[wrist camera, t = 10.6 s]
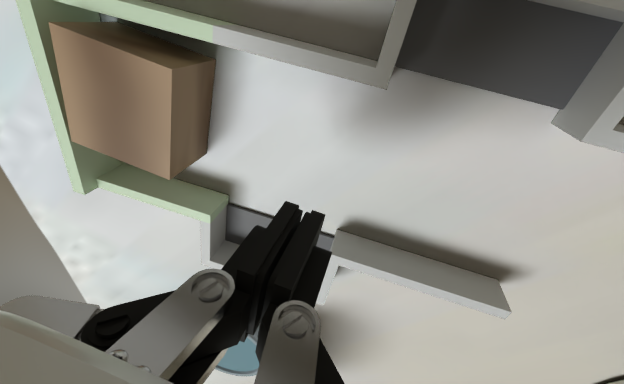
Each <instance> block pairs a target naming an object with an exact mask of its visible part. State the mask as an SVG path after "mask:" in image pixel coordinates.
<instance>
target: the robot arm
mask: <svg viewBox="0 0 624 384" xmlns="http://www.w3.org/2000/svg"><path fill="white" fill-rule="evenodd" d="M302 212H303V211H302V210H300V209H299V205H296V204H293V203H290V202H287V201H286V202H285V203H284V204H283V206H282V207H281V208H280V210H279V211H278V213H277V214H276V215H275V217H274V218H273V220H272V221H271V222H270V224H269V225H268V227H267V228H264V227H262V226H259V225H256V226H255V227H254V228H253V229H252V230H251V232H250V233H249V234H248V236H247V237H246V238H245V239H244V241H243V242H242V243H241V244H240V246H239V247H238V248H237V250H236V251H235V252H234V253H233V255H232V256H231V257H230V259H229V260H228V261H227V262H226V264H225V265H224V266H223V268H222V269H221V270H220V269H205V270H202V271H200V272H198V273H196V274H195V275H193V276H192V277H191V278H189V279H188V280H187V281H186V282H185V283H184V284H182V285H181V286H180V287H179V288H178V289H177V290H175V291H171V292H167V293H163V294H159V295H155V296H151V297H148V298H144V299H140V300H136V301H132V302H128V303H124V304H120V305H116V306H113V307H110V308H107V309H100V307H99V305H94V304H87V303H81V302H74V301H68V300H61V299H56V298H49V297H43V296H24V297H19V298H16V299H14V300H11V301H9V302H7V303H5V304H3V305H2V306H1V307H0V384H203V383H204V382H205V381H206V379H207V378H208V377H209V375H210V374H211V373H212V371H213V370H214V369H215V367H216V366H217V365H218V363H219V362H220V361H221V359H222V358H223V357H224V355H225V353H226V352H227V350H228V348H230V347H232V346H235V345H238V343H239V341H241V342H245V340H246V338H247V336H248V334H250V335H254V334H255V332H256V330H257V328H258V326H259V324H260V326H259V331H258V336H257V337H258V340H257V345H256V350H255V353H256V356H257V358H258V361H259V368H258V372H257V375H256V379H255V382H254V384H344V382H343V380H342V378H341V376H340V374H339V373H338V371H337V369H336V367H335V365H334V363H333V362H332V360H331V358H330V356H329V354H328V352H327V351H326V349H325V347H324V345H323V343H322V341H321V340H320V329H321V324H320V318H319V316H318V313H317V312H316V311H315V309H314V307H315V304H316V301H317V298H318V295H319V292H320V288H321V285H322V282H323V279H324V276H325V273H326V270H327V267H328V264H329V261H330V258H331V255H332V252H331V251H328V250H325V249H323V248H320V247H317V246H316V245H317V241H318V238H319V235H320V231H321V228H322V225H323V221H324V218H325V214H322V213H319V212H316V211H313V210H312V212H311V213H308V212H306V213H305V215H304V217H303V218H302V220H301V216H302ZM300 221H301V222H300ZM607 384H624V379H623V380H619V381H615V382H611V383H607Z"/></svg>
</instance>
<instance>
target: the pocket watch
mask: <svg viewBox="0 0 624 384" xmlns="http://www.w3.org/2000/svg"><path fill="white" fill-rule="evenodd" d="M258 331H259V326H258V328H257V330H256V332H255V334H254V335H250V334H248V336H247V338H246V340H245V342H241V341H239V343H238V345H235V346H232V347H230V348H228V350H227V352H226V353H225V355H224V357H223V358H222V359H221V361H220V362H219V363H218V365H217V366H216V367H215V369H216V370H219V371H221V372H224V373H228V374H231V375H236V376H253V375H257V372H258V368H259V361H258V358H257V356H256V353H255V350H256V345H257V340H258V337H257V336H258Z"/></svg>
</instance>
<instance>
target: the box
mask: <svg viewBox="0 0 624 384" xmlns="http://www.w3.org/2000/svg"><path fill="white" fill-rule="evenodd" d="M16 3H17V6H18V10H19V13H20V16H21V20H22V23H23V26H24V29H25V33H26V36H27V39H28V43H29V46H30V49H31V52H32V56H33V59H34V62H35V66H36V69H37V72H38V75H39V79H40V82H41V85H42V89H43V92H44V95H45V98H46V102H47V105H48V108H49V112H50V115H51V118H52V121H53V125H54V128H55V131H56V135H57V138H58V141H59V144H60V148H61V151H62V154H63V158H64V161H65V164H66V167H67V171H68V174H69V177H70V181H71V184H72V187H73V190H74V191H75V192H78V193H81V194H84V195H85V194H87V193H89V192H91V191H92V190H94V189H96V188H102V189H105V190H108V191H111V192H114V193H117V194H120V195H123V196H126V197H129V198H132V199H135V200H139V201H142V202H145V203H148V204H151V205H154V206H157V207H160V208H163V209H166V210H169V211H172V212H176V213H179V214H182V215H185V216H188V217H191V218H194V219H197V220H200V233H201V265H204V266H207V267H210V268H213V269H220V270H221V269H222V268H223V266H224V265H225V264H226V262H227V261H228V260H229V259H230V257H231V256H232V255H233V253H234V252H235V251H236V250H237V248H238V247H239V246H240V244H241V243H242V242H243V241H244V239H245V238H246V237H247V236H248V234H249V233H250V232H251V230H252V229H253V228H254V227H255V226H256V225H259V226H262V227H264V228H267V227H268V225H269V224H270V222H271V221H272V220H273V217H270V216H267V215H264V214H260V213H257V212H254V211H251V210H248V209H245V208H241V207H238V206H235V205H232V204H229V203H228V200H229V195H225V194H222V193H219V192H216V191H213V190H210V189H206V188H203V187H200V186H197V185H194V184H190V183H187V182H184V181H181V180H178V179H174V178H172V179H171V180H168V179H166V178H163V177H160V176H158V175H155V174H153V173H150V172H148V171H145V170H143V169H140V168H138V167H135V166H133V165H130V164H127V163H125V162H123V161H120V160H118V159H115V158H113V157H110V156H108V155H105V154H103V153H100V152H98V151H95V150H93V149H90V148H87V147H85V146H82V145H80V144H77V143H75V142H72V140H71V135H70V130H69V125H68V120H67V115H66V110H65V104H64V99H63V94H62V89H61V84H60V79H59V74H58V68H57V63H56V58H55V53H54V48H53V43H52V38H51V32H50V27H49V22H100V16H99V13H102V14H106V15H110V16H113V17H117V18H121V19H125V20H128V21H132V22H136V23H140V24H143V25H147V26H151V27H154V28H158V29H162V30H166V31H169V32H173V33H177V34H181V35H184V36H188V37H192V38H196V39H199V40H203V41H207V42H211V43H214V44H218V45H222V46H225V47H229V48H233V49H237V50H240V51H244V52H248V53H252V54H255V55H259V56H263V57H267V58H270V59H274V60H278V61H282V62H285V63H289V64H293V65H296V66H300V67H304V68H308V69H311V70H315V71H319V72H323V73H326V74H330V75H334V76H338V77H341V78H345V79H349V80H353V81H356V82H360V83H364V84H367V85H371V86H375V87H379V88H382V89H386V90H387V87H388V84H389V81H390V78H391V75H392V72H393V69H394V66H396V67H400V68H404V69H408V70H411V71H415V72H419V73H423V74H427V75H431V76H435V77H438V78H442V79H446V80H450V81H454V82H458V83H461V84H465V85H469V86H473V87H477V88H481V89H485V90H488V91H492V92H496V93H500V94H504V95H508V96H512V97H515V98H519V99H523V100H527V101H531V102H535V103H538V104H542V105H546V106H550V107H554V108H558V109H560V111H559V112H558V114H557V115H556V117H555V118H554V120H553V121H552V122H551V123H552V124H553V125H555V126H556V127H558V128H560V129H561V130H563V131H564V132H566V133H568V134H569V135H571V136H573V137H574V138H576V139H577V140H579V141H581V142H584V143H588V144H592V145H595V146H599V147H603V148H607V149H610V150H614V151H618V152H622V153H624V125H621V124H618V122H619V121H620V120H621V119H622V118H623V116H624V0H396V3H395V7H394V10H393V13H392V16H391V20H390V23H389V26H388V30H387V33H386V36H385V39H384V43H383V46H382V49H381V52H380V56H379V59H378V61H375V60H371V59H367V58H363V57H360V56H356V55H352V54H348V53H344V52H340V51H336V50H333V49H329V48H325V47H321V46H317V45H313V44H310V43H306V42H302V41H298V40H294V39H290V38H286V37H283V36H279V35H275V34H271V33H267V32H263V31H260V30H256V29H252V28H248V27H244V26H240V25H236V24H233V23H229V22H225V21H221V20H217V19H213V18H209V17H206V16H202V15H198V14H194V13H190V12H186V11H183V10H179V9H175V8H171V7H167V6H163V5H159V4H156V3H152V2H148V1H144V0H16ZM316 246H317V247H320V248H323V249H325V250H328V251H331V252H332V255H331V258H330V261H329V264H328V267H327V270H326V273H325V276H324V279H323V282H322V285H321V288H320V292H319V295H318V298H317V301H316V303H317V304H320V305H323V306H324V304H325V301H326V298H327V296H328V293H329V290H330V288H331V285H332V282H333V279H334V277H335V274H336V271H337V269H338V266H342V267H345V268H348V269H351V270H354V271H357V272H360V273H364V274H367V275H370V276H373V277H376V278H379V279H382V280H385V281H388V282H391V283H394V284H397V285H400V286H404V287H407V288H410V289H413V290H416V291H419V292H422V293H425V294H428V295H431V296H434V297H437V298H441V299H444V300H447V301H450V302H453V303H456V304H459V305H462V306H465V307H468V308H471V309H474V310H478V311H481V312H484V313H487V314H490V315H493V316H496V317H499V318H502V319H506V318H507V317H508V316H509V315H510V314H511V313H512V312H511V310H510V307H509V305H508V303H507V300H506V298H505V296H504V293H503V291H502V288H501V286H500V284H499V281H498V280H496V279H493V278H490V277H487V276H484V275H480V274H477V273H474V272H471V271H468V270H464V269H461V268H458V267H455V266H452V265H449V264H445V263H442V262H439V261H436V260H433V259H429V258H426V257H423V256H420V255H417V254H413V253H410V252H407V251H404V250H401V249H398V248H394V247H391V246H388V245H385V244H382V243H378V242H375V241H372V240H369V239H366V238H363V237H359V236H356V235H353V234H350V233H347V232H343V231H340V230H336V233H335V236H334V237H333V236H330V235H327V234H324V233H320V235H319V238H318V241H317V245H316Z"/></svg>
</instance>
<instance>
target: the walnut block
mask: <svg viewBox="0 0 624 384" xmlns="http://www.w3.org/2000/svg"><path fill="white" fill-rule="evenodd" d="M49 27H50V32H51V38H52V43H53V48H54V53H55V58H56V63H57V68H58V74H59V79H60V84H61V89H62V94H63V99H64V104H65V110H66V115H67V120H68V125H69V130H70V135H71V140H72V142H75V143H77V144H80V145H82V146H85V147H87V148H90V149H93V150H95V151H98V152H100V153H103V154H105V155H108V156H110V157H113V158H115V159H118V160H120V161H123V162H125V163H128V164H130V165H133V166H135V167H138V168H140V169H143V170H145V171H148V172H150V173H153V174H155V175H158V176H160V177H163V178H166V179H168V180H171V179H172V178H173V177H175V176H176V175H178V174H179V173H180V172H182V171H183V170H184V169H186V168H187V167H189V166H190V165H191V164H193V163H194V162H195V161H197V160H198V159H200V158H201V157H202V156H204V155H205V154H206V153H207V143H208V133H209V123H210V114H211V104H212V94H213V84H214V75H215V65H216V60H215V59H213V58H210V57H207V56H205V55H202V54H200V53H197V52H194V51H192V50H189V49H186V48H184V47H181V46H179V45H176V44H173V43H171V42H168V41H165V40H163V39H160V38H158V37H155V36H152V35H150V34H147V33H144V32H142V31H139V30H137V29H134V28H131V27H129V26H126V25H124V24H121V23H118V22H49Z"/></svg>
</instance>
